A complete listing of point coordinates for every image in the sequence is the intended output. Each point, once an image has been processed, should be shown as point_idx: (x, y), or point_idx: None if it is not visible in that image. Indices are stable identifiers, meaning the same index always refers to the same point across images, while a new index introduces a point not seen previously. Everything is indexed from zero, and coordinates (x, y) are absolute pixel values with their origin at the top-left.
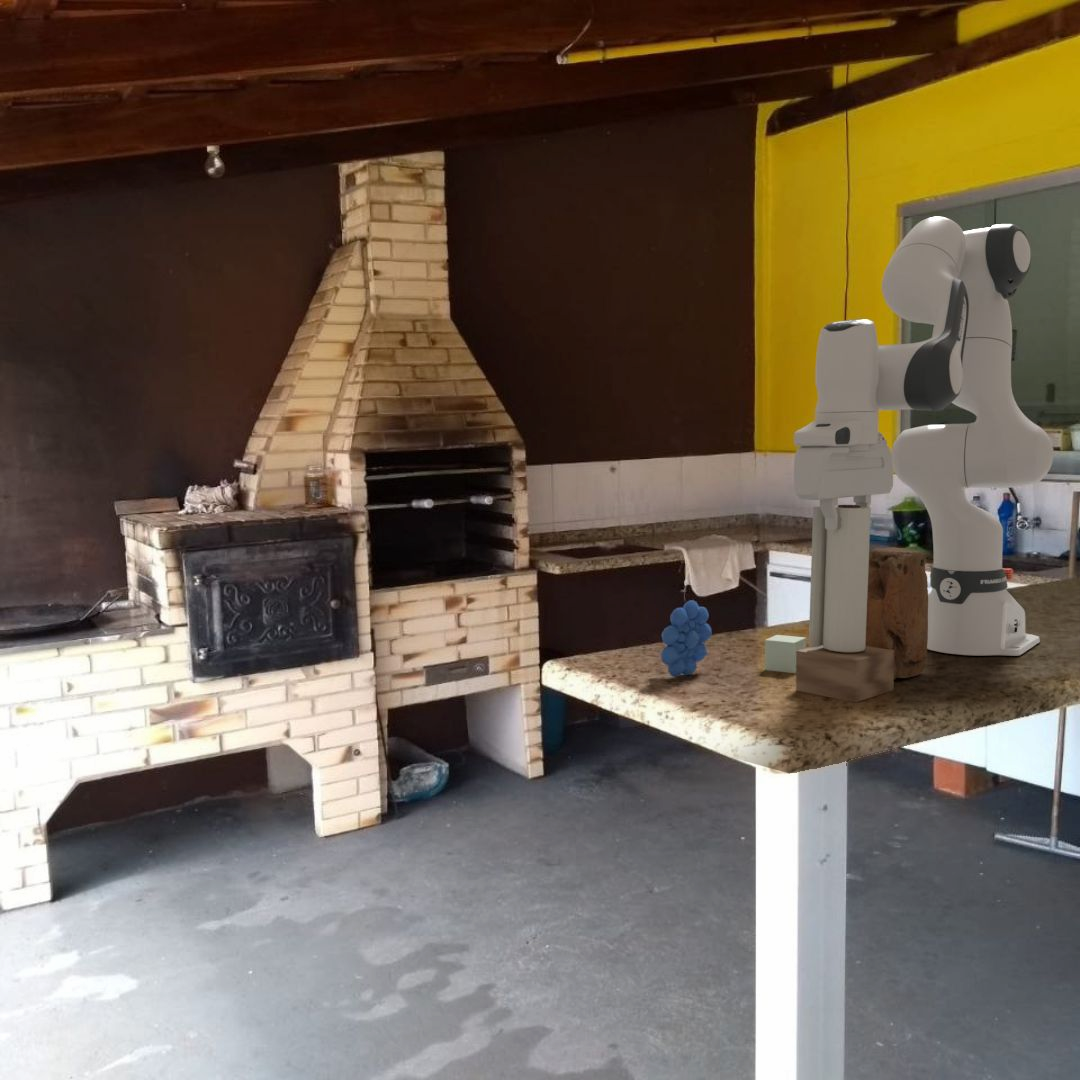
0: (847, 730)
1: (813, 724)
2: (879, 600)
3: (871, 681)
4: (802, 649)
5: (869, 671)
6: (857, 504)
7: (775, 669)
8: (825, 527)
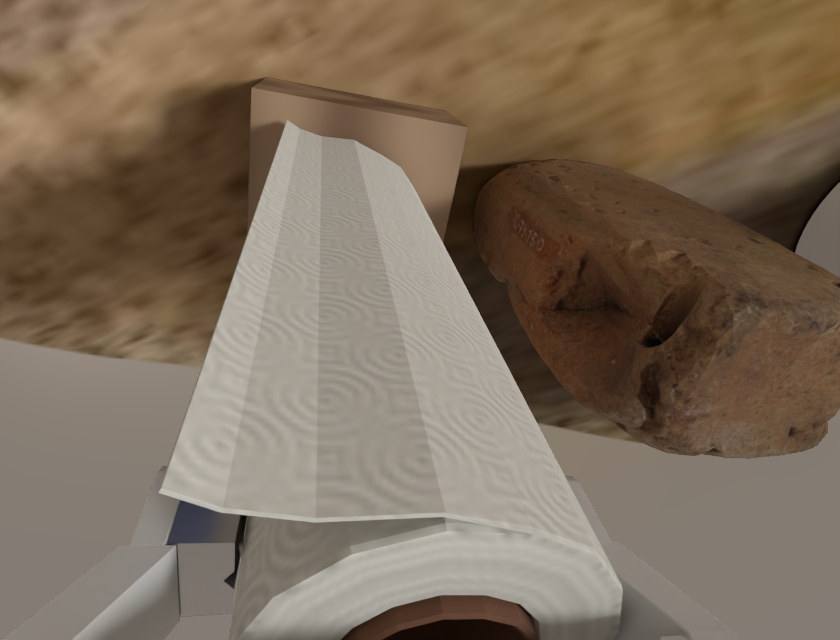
0: (49, 328)
1: (23, 259)
2: (540, 300)
3: None
4: (283, 96)
5: None
6: (659, 629)
7: None
8: (160, 472)
